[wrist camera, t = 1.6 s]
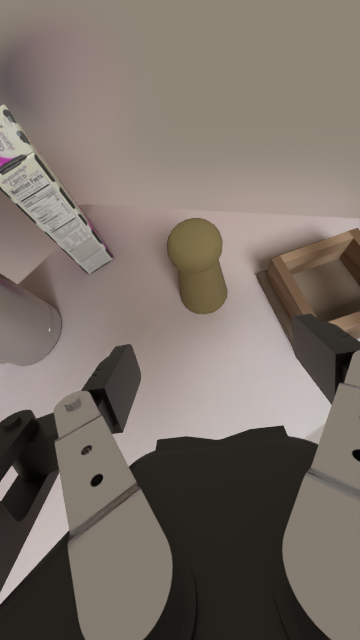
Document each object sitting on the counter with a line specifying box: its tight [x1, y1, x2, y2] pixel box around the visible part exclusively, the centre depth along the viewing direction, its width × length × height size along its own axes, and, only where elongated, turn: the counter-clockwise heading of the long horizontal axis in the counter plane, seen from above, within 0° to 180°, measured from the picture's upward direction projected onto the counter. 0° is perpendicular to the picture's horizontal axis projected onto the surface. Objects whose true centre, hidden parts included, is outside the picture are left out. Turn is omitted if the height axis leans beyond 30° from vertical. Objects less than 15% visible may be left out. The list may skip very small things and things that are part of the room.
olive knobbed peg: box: [167, 218, 227, 314], centre depth 26 cm, size 6×6×11 cm
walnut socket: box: [257, 228, 360, 346], centre depth 25 cm, size 11×11×4 cm
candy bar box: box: [0, 105, 114, 275], centre depth 30 cm, size 11×5×16 cm, turn 33°
